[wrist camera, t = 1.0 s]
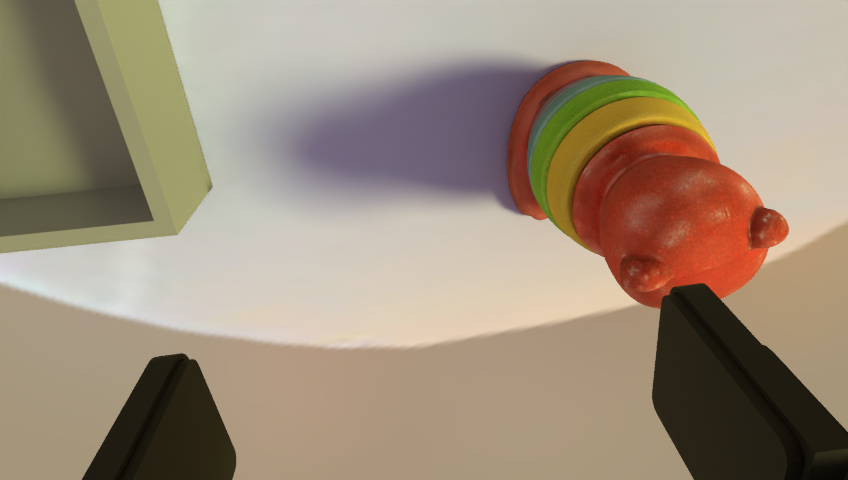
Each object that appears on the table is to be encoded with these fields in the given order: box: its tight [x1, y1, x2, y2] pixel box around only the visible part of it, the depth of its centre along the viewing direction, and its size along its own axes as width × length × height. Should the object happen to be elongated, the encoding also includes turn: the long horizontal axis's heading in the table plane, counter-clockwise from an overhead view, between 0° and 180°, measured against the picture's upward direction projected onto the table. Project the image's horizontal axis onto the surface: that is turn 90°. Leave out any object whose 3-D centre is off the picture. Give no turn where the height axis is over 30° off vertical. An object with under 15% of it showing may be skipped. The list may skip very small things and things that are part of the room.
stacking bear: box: [507, 61, 789, 309], centre depth 29 cm, size 11×10×18 cm
